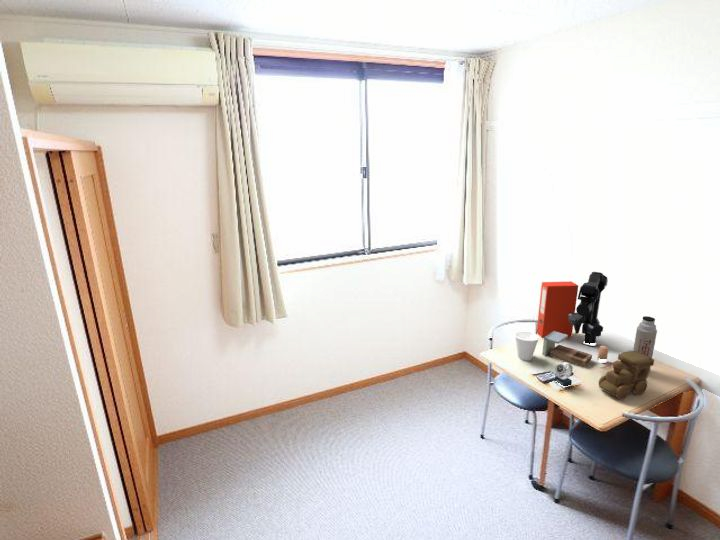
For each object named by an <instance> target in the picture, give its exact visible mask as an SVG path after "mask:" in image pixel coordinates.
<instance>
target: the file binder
mask: <svg viewBox="0 0 720 540" xmlns="http://www.w3.org/2000/svg"><path fill="white" fill-rule="evenodd" d="M578 293H579V285H578V284H576V283H575V282H573V281H572V280H571V281H541V285H540V295H539V297H540V298H539V303H538V304H539V305H538V306H539V307H538V314H537V323H536V325H537V326H536V333H537V335H538V336H539V337H540V338H541V339H544V337H546V336H547V335H549V334H550V333H552V332H553V331H556V332H559V333H562V334H566V335H568V337H567V338H572V336H573V331H574V330H573V329H574V325H572V324H571V323H569V320H568V315H569V314H570V313H576V308H577V306H576V305H577V300H578Z"/></svg>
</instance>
